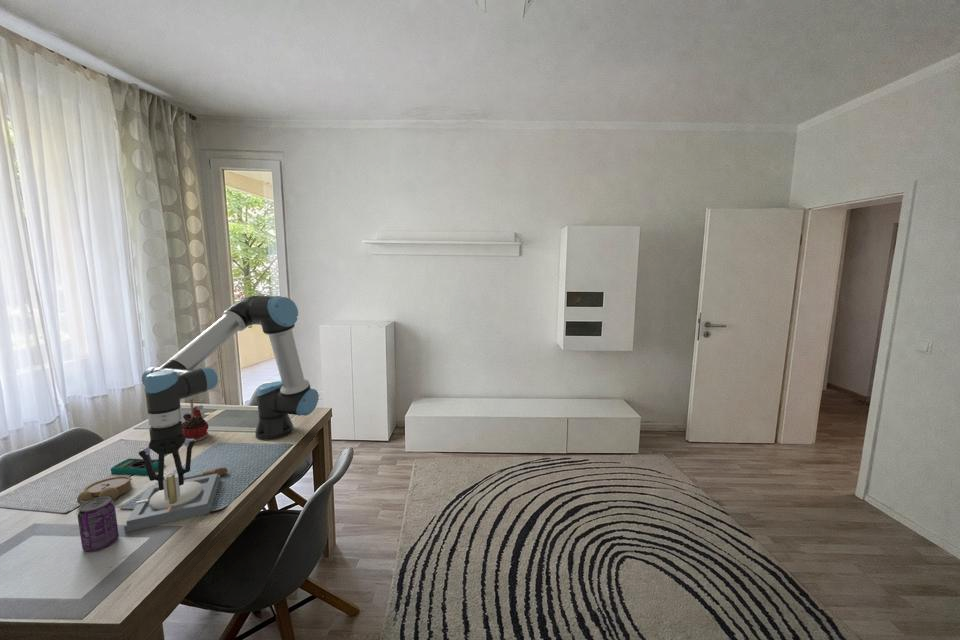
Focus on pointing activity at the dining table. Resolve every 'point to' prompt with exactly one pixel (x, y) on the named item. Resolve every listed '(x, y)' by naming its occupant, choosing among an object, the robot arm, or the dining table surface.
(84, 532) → the beverage can
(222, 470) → the screwdriver
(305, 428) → the dining table surface
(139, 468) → the digital multimeter
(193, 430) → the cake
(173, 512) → the panel
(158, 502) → the dial
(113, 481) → the alarm clock
